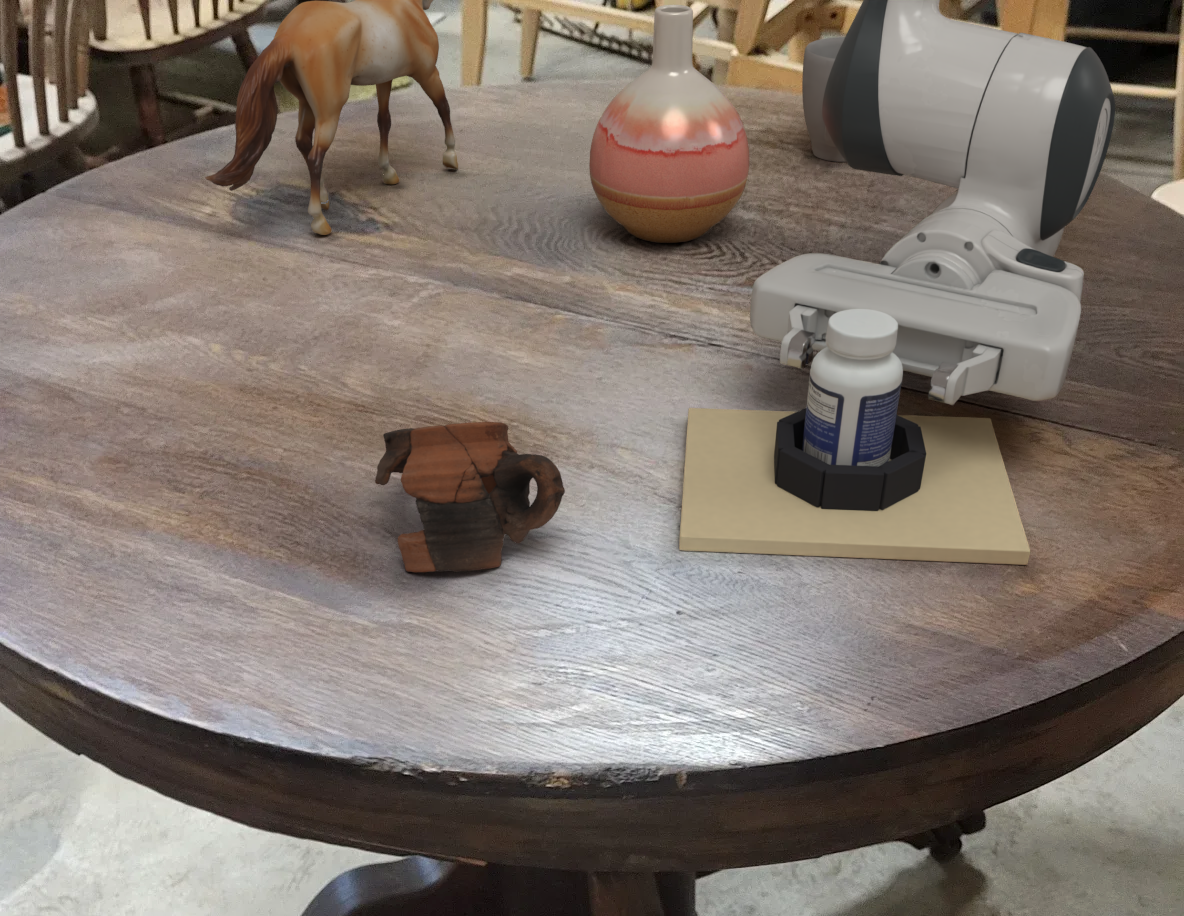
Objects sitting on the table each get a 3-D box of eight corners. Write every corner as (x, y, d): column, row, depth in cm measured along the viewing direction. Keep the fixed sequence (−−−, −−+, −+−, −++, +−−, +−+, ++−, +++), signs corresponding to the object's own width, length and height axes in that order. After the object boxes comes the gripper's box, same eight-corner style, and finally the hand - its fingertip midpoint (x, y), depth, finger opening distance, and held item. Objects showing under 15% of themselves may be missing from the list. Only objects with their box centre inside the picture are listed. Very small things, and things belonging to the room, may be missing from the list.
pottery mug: (353, 580, 75) (336, 434, 73) (435, 565, 83) (421, 434, 82) (541, 568, 70) (527, 412, 68) (607, 554, 78) (596, 415, 77)
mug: (803, 136, 134) (813, 33, 128) (889, 143, 132) (903, 40, 126) (781, 173, 126) (790, 65, 120) (872, 181, 124) (886, 72, 117)
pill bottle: (887, 454, 82) (910, 305, 76) (886, 497, 78) (911, 345, 72) (801, 447, 83) (818, 300, 77) (796, 490, 79) (813, 338, 73)
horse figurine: (436, 149, 132) (417, -86, 119) (498, 161, 129) (485, -78, 116) (216, 246, 113) (163, -22, 99) (283, 264, 109) (237, -11, 96)
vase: (775, 240, 113) (795, 14, 101) (642, 272, 107) (647, 38, 96) (688, 194, 122) (696, -18, 110) (561, 221, 116) (556, 2, 105)
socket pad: (987, 431, 86) (998, 382, 84) (1027, 565, 74) (1040, 513, 72) (687, 420, 88) (690, 372, 86) (679, 550, 76) (681, 498, 73)
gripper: (803, 214, 87) (709, 285, 78) (1111, 272, 79) (1046, 359, 70) (794, 305, 91) (704, 382, 82) (1086, 369, 83) (1022, 462, 74)
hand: (864, 372), depth 76 cm, fingers open, 8 cm apart
